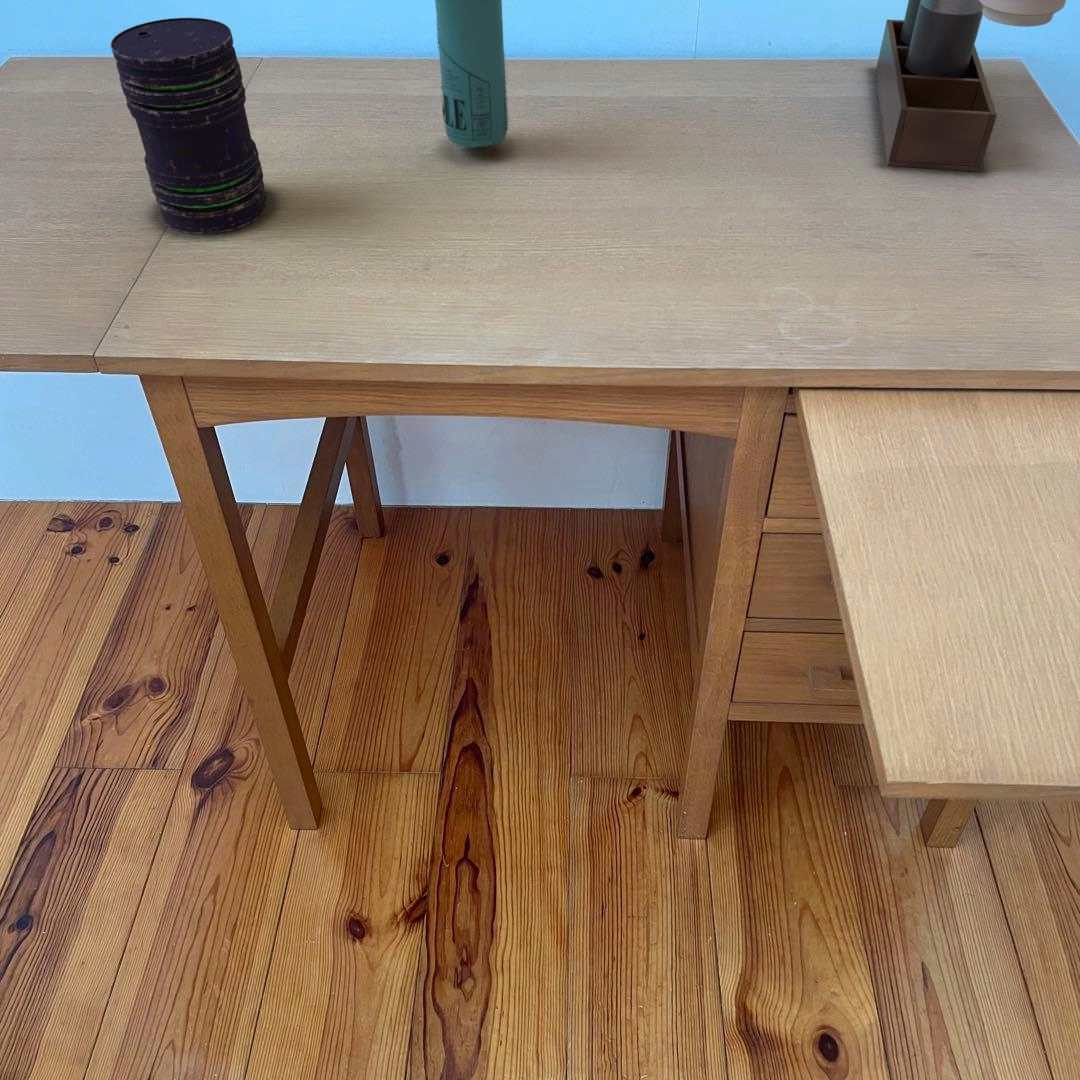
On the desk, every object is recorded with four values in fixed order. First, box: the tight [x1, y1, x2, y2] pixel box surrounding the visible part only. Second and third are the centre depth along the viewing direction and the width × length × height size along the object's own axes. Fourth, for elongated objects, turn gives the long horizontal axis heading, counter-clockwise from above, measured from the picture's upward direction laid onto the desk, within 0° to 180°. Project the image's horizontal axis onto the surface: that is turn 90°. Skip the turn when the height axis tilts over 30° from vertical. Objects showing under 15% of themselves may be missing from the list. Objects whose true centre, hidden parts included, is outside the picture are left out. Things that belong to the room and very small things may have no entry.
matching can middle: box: [903, 0, 984, 78], centre depth 100 cm, size 6×6×15 cm
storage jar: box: [110, 17, 269, 235], centre depth 88 cm, size 10×10×15 cm
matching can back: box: [899, 0, 921, 46], centre depth 106 cm, size 6×6×15 cm
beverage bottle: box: [434, 0, 510, 148], centre depth 94 cm, size 6×7×20 cm
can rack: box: [875, 19, 998, 173], centre depth 104 cm, size 9×25×6 cm, turn 169°
